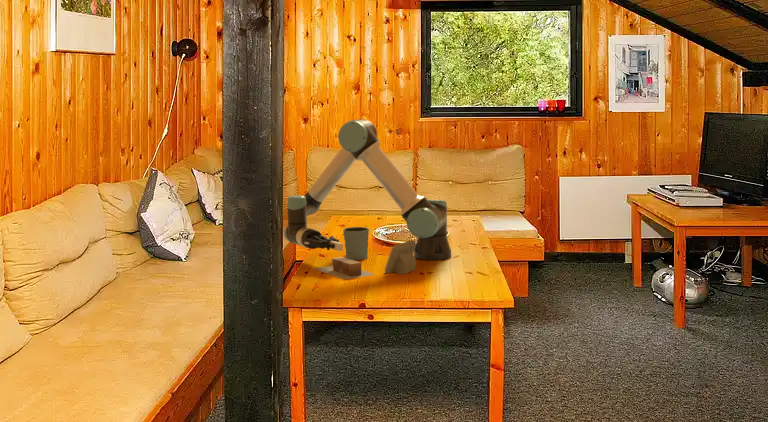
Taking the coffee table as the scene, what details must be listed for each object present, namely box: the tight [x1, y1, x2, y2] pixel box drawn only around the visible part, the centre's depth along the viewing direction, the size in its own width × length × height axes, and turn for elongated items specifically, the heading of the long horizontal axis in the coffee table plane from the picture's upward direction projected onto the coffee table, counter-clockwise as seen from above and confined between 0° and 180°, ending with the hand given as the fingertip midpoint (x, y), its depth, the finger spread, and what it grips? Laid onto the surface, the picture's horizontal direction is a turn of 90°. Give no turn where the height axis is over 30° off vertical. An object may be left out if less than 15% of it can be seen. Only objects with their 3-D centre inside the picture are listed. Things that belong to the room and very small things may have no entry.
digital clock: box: [384, 239, 417, 275], centre depth 300 cm, size 16×9×11 cm, turn 138°
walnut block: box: [331, 256, 362, 277], centre depth 297 cm, size 4×4×13 cm
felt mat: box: [314, 265, 376, 280], centre depth 299 cm, size 22×13×1 cm, turn 35°
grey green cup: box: [342, 226, 370, 261], centre depth 323 cm, size 10×10×12 cm
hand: (341, 247), depth 298 cm, fingers closed
